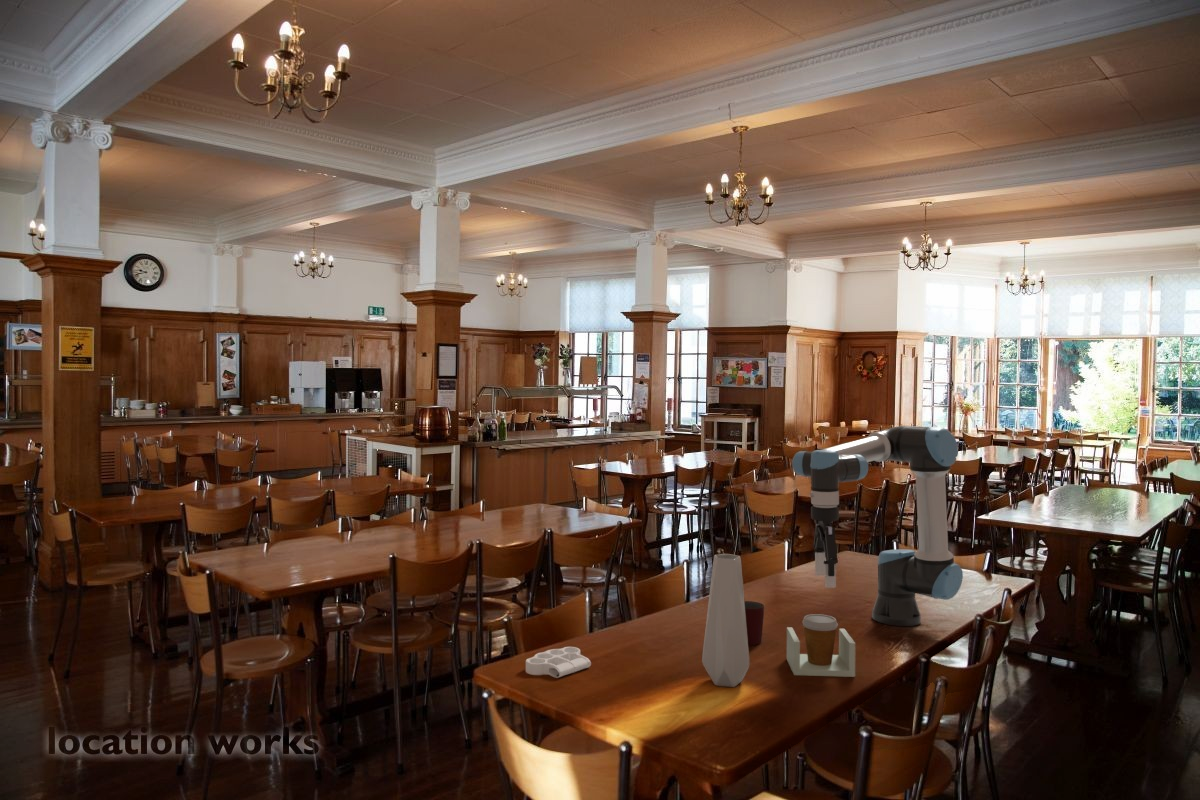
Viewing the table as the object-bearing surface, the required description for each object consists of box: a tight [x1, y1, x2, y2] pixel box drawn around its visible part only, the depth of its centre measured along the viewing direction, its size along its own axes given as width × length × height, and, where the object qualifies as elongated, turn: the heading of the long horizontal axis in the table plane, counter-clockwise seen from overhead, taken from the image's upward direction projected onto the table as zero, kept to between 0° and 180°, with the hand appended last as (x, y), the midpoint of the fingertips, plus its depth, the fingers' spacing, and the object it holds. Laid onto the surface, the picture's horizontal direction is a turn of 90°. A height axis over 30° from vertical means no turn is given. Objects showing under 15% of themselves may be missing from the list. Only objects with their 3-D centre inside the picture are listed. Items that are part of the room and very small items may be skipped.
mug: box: [744, 600, 765, 646], centre depth 246 cm, size 12×9×11 cm
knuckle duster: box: [525, 646, 592, 679], centre depth 224 cm, size 3×18×15 cm
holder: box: [786, 626, 856, 678], centre depth 224 cm, size 16×13×9 cm
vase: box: [701, 553, 750, 688], centre depth 213 cm, size 12×12×33 cm
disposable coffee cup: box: [801, 613, 839, 666], centre depth 224 cm, size 10×10×12 cm
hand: (825, 581), depth 229 cm, fingers open, 13 cm apart
